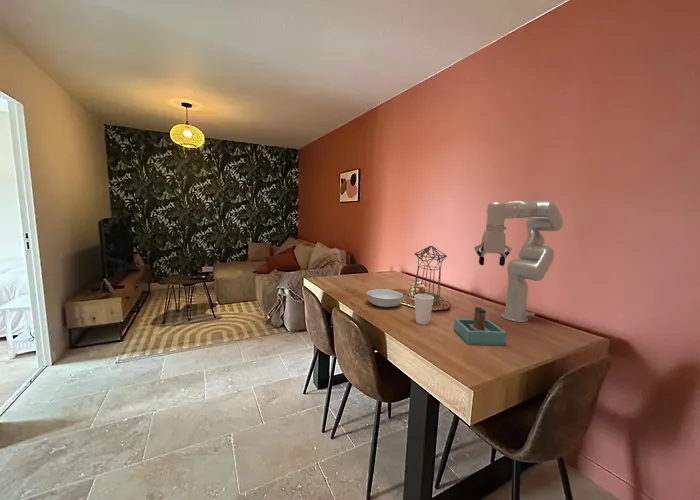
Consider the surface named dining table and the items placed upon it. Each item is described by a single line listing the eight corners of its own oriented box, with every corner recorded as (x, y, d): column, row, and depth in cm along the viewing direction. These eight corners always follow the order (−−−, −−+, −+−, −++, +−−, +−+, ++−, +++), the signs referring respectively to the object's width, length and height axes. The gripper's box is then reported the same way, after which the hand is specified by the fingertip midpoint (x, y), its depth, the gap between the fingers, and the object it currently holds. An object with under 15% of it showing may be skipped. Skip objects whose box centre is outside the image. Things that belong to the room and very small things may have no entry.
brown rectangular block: (478, 333, 140) (480, 307, 139) (483, 337, 135) (485, 310, 134) (473, 333, 140) (475, 307, 139) (477, 337, 135) (480, 310, 134)
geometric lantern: (419, 297, 202) (425, 243, 198) (443, 303, 192) (449, 246, 188) (407, 302, 190) (413, 244, 185) (432, 308, 180) (438, 247, 176)
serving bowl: (362, 307, 176) (363, 295, 175) (370, 298, 196) (371, 287, 195) (399, 312, 170) (400, 300, 169) (404, 302, 190) (405, 291, 189)
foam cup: (410, 323, 154) (411, 297, 152) (415, 317, 162) (417, 293, 160) (429, 326, 149) (431, 300, 148) (434, 321, 157) (436, 296, 156)
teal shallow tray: (487, 331, 147) (488, 319, 146) (505, 345, 131) (506, 332, 130) (453, 330, 146) (454, 318, 145) (467, 344, 130) (468, 331, 129)
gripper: (508, 229, 151) (505, 264, 153) (473, 228, 150) (470, 263, 152) (517, 230, 144) (513, 267, 146) (480, 228, 143) (476, 266, 145)
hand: (491, 265), depth 149 cm, fingers open, 9 cm apart
